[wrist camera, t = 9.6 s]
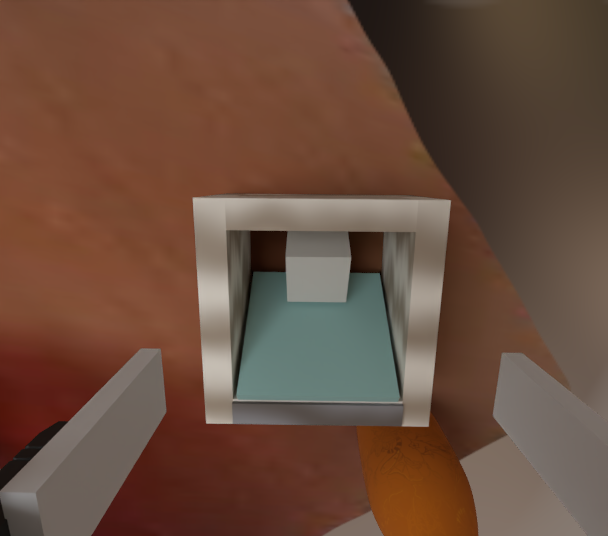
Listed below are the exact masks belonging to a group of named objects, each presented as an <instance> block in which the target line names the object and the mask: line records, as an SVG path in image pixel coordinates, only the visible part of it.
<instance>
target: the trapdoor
mask: <svg viewBox="0 0 608 536" xmlns="http://www.w3.org/2000/svg"><path fill="white" fill-rule="evenodd" d="M237 398H238V400H300V401H368V402H398V400H399V398H400V396H399V390H398V383H397V377H396V371H395V365H394V359H393V353H392V346H391V340H390V334H389V328H388V322H387V316H386V310H385V303H384V297H383V291H382V285H381V279H380V273H349V282H348V290H347V299H346V302H287V281H286V272H254V274H253V281H252V288H251V295H250V302H249V309H248V316H247V323H246V331H245V338H244V345H243V352H242V359H241V366H240V373H239V380H238V387H237Z"/></svg>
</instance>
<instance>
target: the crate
mask: <svg viewBox="0 0 608 536" xmlns="http://www.w3.org/2000/svg"><path fill="white" fill-rule="evenodd" d="M450 205H451V200H445V199H436V198H428V197H419V196H411V195H326V194H219V195H211V196H203V197H195V198H193V211H194V228H195V245H196V261H197V278H198V295H199V311H200V328H201V345H202V361H203V378H204V395H205V412H206V423H214V424H280V425H346V426H412V427H429V417H430V407H431V397H432V387H433V377H434V366H435V356H436V346H437V336H438V326H439V316H440V306H441V296H442V286H443V276H444V266H445V256H446V245H447V235H448V225H449V215H450ZM250 230H253V231H351V232H384V239H383V256H382V273H381V285H382V291H383V297H384V303H385V310H386V316H387V322H388V328H389V334H390V340H391V346H392V353H393V359H394V365H395V371H396V377H397V383H398V390H399V396H400V398H399V400H398V402H368V401H300V400H238V398H237V387H238V380H239V373H240V366H241V359H242V352H243V345H244V338H245V331H246V323H247V316H248V309H249V302H250V295H251V288H252V282H251V242H250Z"/></svg>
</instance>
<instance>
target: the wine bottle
mask: <svg viewBox="0 0 608 536" xmlns="http://www.w3.org/2000/svg"><path fill="white" fill-rule="evenodd" d="M357 437H358V445H359V451H360V458H361V464H362V470H363V475H364V481H365V486H366V490H367V495H368V499H369V503H370V506H371V509H372V512H373V514H374V517H375V519H376V521H377V523H378V526H379V528H380V530H381V531H382V533H383V535H384V536H478V524H477V516H476V510H475V504H474V499H473V495H472V491H471V488H470V485H469V482H468V479H467V477H466V474H465V472H464V470H463V468H462V466H461V464H460V462H459V460H458V458H457V456H456V454H455V452H454V451H453V449H452V447H451V445H450V443H449V442H448V440H447V438H446V436H445V435H444V433H443V431H442V429H441V428H440V426H439V424H438V423H437V421H436V419H435V418H434V416H433V414H432V413H431V411H430V417H429V427H412V426H357Z"/></svg>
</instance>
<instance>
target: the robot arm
mask: <svg viewBox="0 0 608 536" xmlns="http://www.w3.org/2000/svg"><path fill="white" fill-rule="evenodd" d="M165 413H166V402H165V391H164V380H163V369H162V358H161V349H140V350H139V351H138V352H137V353H136V354H135V355H134V356H133V357H132V358H131V359H130V360H129V361H128V362H127V363H126V364H125V365H124V366H123V367H122V368H121V369H120V370H119V371H118V372H117V373H116V374H115V375H114V376H113V377H112V378H111V379H110V380H109V381H108V382H107V383H106V384H105V385H104V386H103V387H102V388H101V389H100V390H99V391H98V392H97V393H96V394H95V395H94V397H93V398H92V399H91V400H90V401H89V402H88V403H87V404H86V405H85V406H84V407H83V408H82V409H81V410H80V411H79V412H78V413H77V414H76V415H75V416H74V417H73V418H72V419H71V420H70V421H69V422H66V421H59V422H57V423H55V424H54V425H52V426H50V427H49V428H47V429H45V430H44V431H42V432H40V433H39V434H38V435H37V436H36V437H35V438H34V439H33V440H32V441H31V442H30V443H29V444H28V445H26V446H25V449H22V450H21V451H20V452H19V453H18V454H17V455H16V456H15V457H14V458H13V461H10V462H8V463H7V464H6V465H5V466H4V467H3V468H2V469H1V470H0V536H91V535H92V533H93V532H94V530H95V528H96V527H97V525H98V523H99V522H100V520H101V518H102V517H103V515H104V513H105V512H106V510H107V509H108V507H109V505H110V504H111V502H112V500H113V499H114V497H115V495H116V494H117V492H118V490H119V489H120V487H121V486H122V484H123V482H124V481H125V479H126V477H127V476H128V474H129V472H130V471H131V469H132V467H133V466H134V464H135V463H136V461H137V459H138V458H139V456H140V454H141V453H142V451H143V449H144V448H145V446H146V444H147V443H148V441H149V440H150V438H151V436H152V435H153V433H154V431H155V430H156V428H157V426H158V425H159V423H160V421H161V420H162V418H163V416H164V415H165ZM493 417H494V418H495V419H496V421H497V422H498V423H499V424H500V426H501V427H502V428H503V429H504V431H505V432H506V433H507V435H508V436H509V437H510V438H511V440H512V441H513V442H514V443H515V445H516V446H517V447H518V448H519V450H520V451H521V452H522V453H523V455H524V456H525V457H526V459H528V461H529V462H530V464H531V465H532V466H533V467H534V469H535V470H536V471H537V472H538V474H539V475H540V476H541V478H542V479H543V480H544V481H545V483H546V484H547V485H548V486H549V488H550V489H551V490H552V491H553V493H554V494H555V495H556V497H557V498H558V499H559V500H560V502H561V503H562V504H563V505H564V507H565V508H566V509H567V510H568V512H569V513H570V514H571V515H572V517H573V518H574V519H575V521H576V522H577V523H578V524H579V525H580V527H581V528H582V529H583V531H584V532H585V533H586V534H587V536H608V421H606V420H605V419H604V418H603V417H601V416H600V415H599V414H598V413H596V412H595V411H594V410H593V409H591V408H590V407H589V406H588V405H586V404H585V403H584V402H583V401H581V400H580V399H579V398H578V397H576V396H575V395H574V394H573V393H571V392H570V391H569V390H568V389H566V388H565V387H564V386H563V385H561V384H560V383H559V382H558V381H556V380H555V379H554V378H553V377H551V376H550V375H549V374H548V373H546V372H545V371H544V370H543V369H541V368H540V367H539V366H538V365H536V364H535V363H534V362H533V361H531V360H530V359H529V358H528V357H526V356H525V355H524V354H523V353H502V357H501V363H500V370H499V377H498V384H497V390H496V397H495V404H494V411H493Z"/></svg>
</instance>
